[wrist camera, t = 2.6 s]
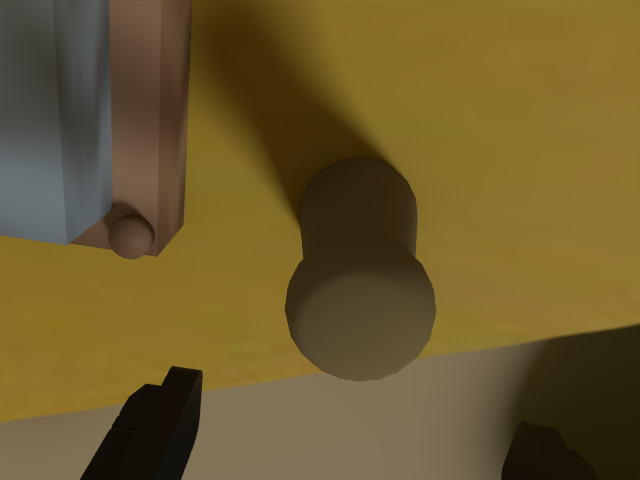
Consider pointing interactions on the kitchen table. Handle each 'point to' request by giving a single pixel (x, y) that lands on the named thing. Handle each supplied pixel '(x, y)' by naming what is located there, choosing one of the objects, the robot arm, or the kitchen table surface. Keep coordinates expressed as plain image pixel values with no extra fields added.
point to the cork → (359, 274)
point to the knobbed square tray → (94, 121)
